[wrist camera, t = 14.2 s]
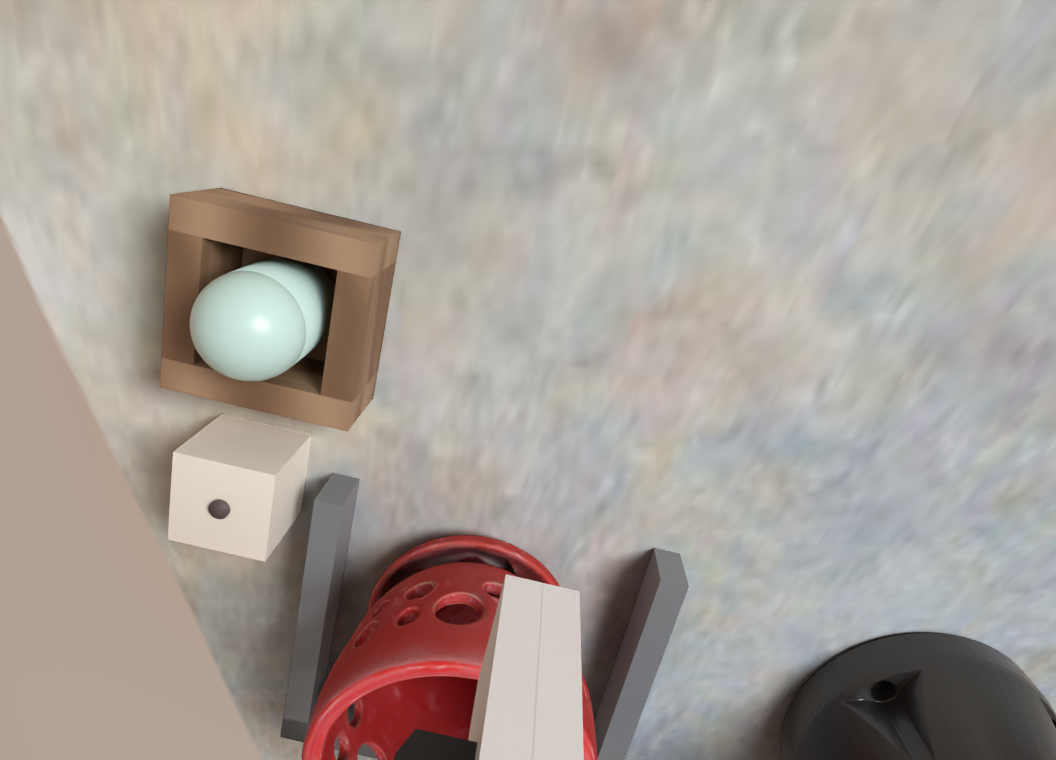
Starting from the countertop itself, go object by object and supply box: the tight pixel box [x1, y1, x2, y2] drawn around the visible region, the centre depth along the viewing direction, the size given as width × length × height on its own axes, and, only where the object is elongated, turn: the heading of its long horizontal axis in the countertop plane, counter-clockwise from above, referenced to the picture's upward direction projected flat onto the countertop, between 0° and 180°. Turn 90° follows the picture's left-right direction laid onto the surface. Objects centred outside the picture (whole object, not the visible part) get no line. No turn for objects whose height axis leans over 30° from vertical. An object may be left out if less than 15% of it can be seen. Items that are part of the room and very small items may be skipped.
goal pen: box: [280, 473, 689, 760], centre depth 40 cm, size 20×16×3 cm
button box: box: [160, 188, 401, 431], centre depth 33 cm, size 9×9×4 cm
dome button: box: [190, 255, 335, 381], centre depth 31 cm, size 5×5×7 cm
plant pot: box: [302, 535, 597, 760], centre depth 35 cm, size 13×13×12 cm
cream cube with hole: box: [168, 414, 311, 562], centre depth 36 cm, size 5×5×5 cm
